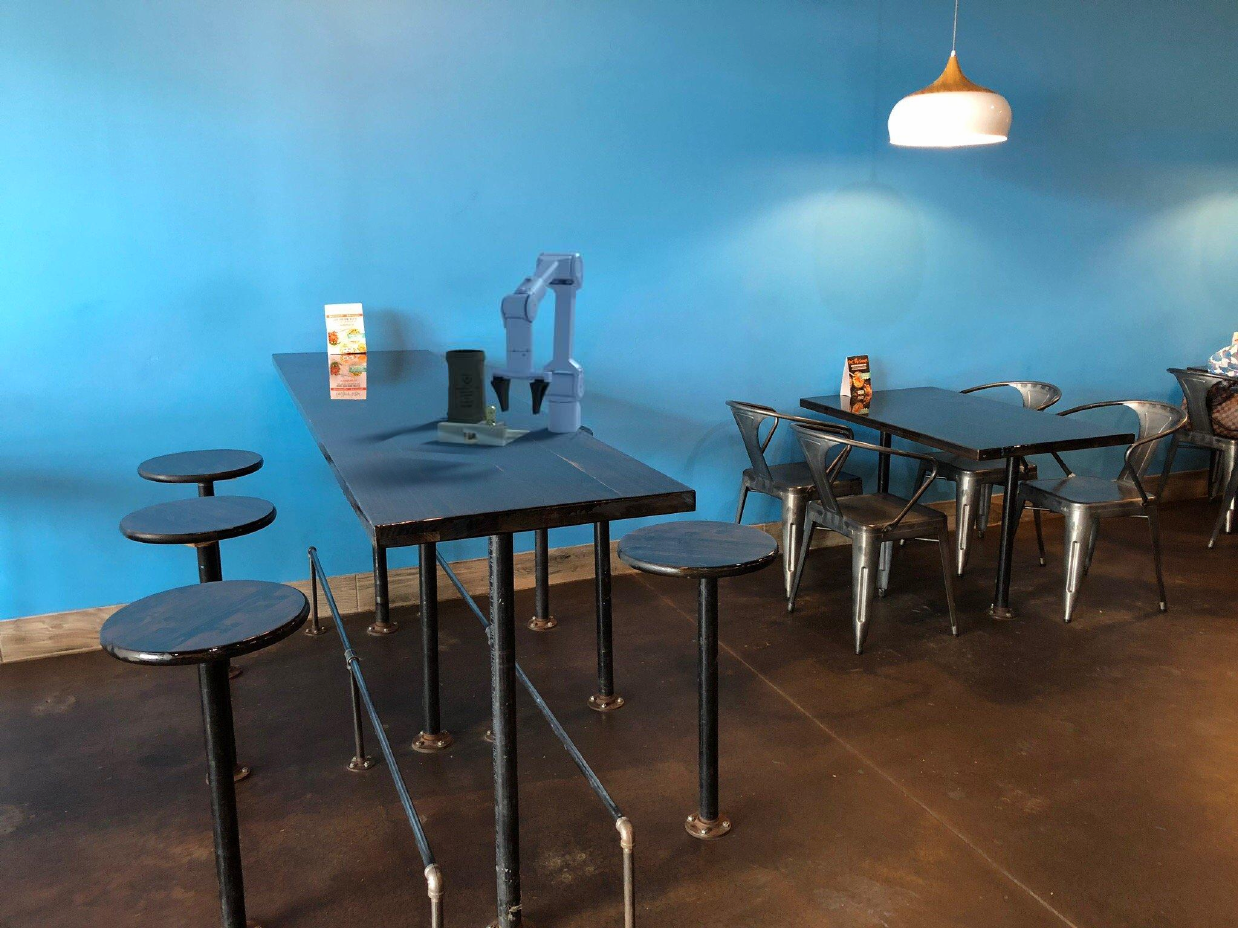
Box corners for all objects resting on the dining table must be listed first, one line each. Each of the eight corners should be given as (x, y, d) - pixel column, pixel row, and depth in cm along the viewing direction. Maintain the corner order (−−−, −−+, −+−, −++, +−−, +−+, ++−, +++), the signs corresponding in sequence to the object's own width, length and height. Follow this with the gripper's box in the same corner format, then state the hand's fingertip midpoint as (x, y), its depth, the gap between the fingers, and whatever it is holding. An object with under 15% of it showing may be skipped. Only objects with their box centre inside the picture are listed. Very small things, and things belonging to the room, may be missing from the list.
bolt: (488, 431, 229) (487, 404, 228) (497, 431, 228) (497, 405, 227) (474, 437, 221) (474, 410, 220) (484, 438, 221) (483, 410, 219)
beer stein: (493, 430, 239) (491, 350, 236) (451, 432, 235) (448, 351, 232) (479, 423, 253) (476, 348, 250) (439, 425, 249) (436, 349, 246)
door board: (469, 433, 235) (468, 411, 234) (530, 437, 231) (530, 414, 230) (438, 447, 218) (437, 424, 217) (503, 452, 214) (502, 428, 213)
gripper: (480, 350, 203) (482, 412, 206) (542, 354, 198) (542, 418, 201) (496, 347, 210) (497, 407, 213) (556, 350, 204) (556, 412, 208)
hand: (520, 412), depth 207 cm, fingers open, 7 cm apart
